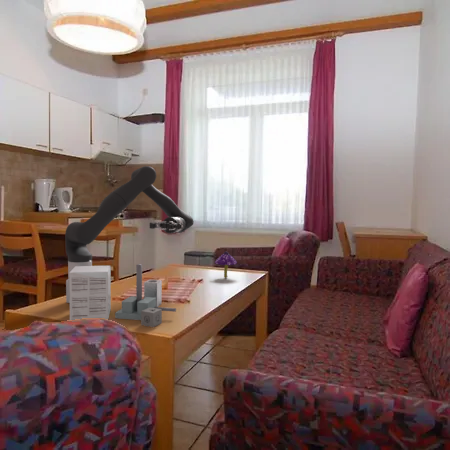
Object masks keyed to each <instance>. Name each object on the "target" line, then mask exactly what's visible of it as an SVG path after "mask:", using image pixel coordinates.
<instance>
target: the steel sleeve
mask: <svg viewBox="0 0 450 450" xmlns="http://www.w3.org/2000/svg"><path fill="white" fill-rule="evenodd" d="M162 284H163V282H162V280H161V279H148V280H146V281H144V282H143V286H144V287H143V296H144V297H143V299H144V298H145V297H153V298H156V307H160V306H161V305H162V302H163V301H162V295H163V294H162V293H163V290H162V287H163V286H162Z"/></svg>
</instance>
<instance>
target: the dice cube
mask: <svg viewBox="0 0 450 450" xmlns="http://www.w3.org/2000/svg"><path fill="white" fill-rule="evenodd" d="M162 313H163V311H162V309H157V308H147V309H145V310H142V311H141V320H140V326H143V325H144V327H149V326H150V327H149V328H155V327H157V326H159V325H161V324H162V323H163V322H162V321H163V320H162V319H163V316H162V315H163V314H162Z"/></svg>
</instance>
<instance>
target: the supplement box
mask: <svg viewBox="0 0 450 450" xmlns="http://www.w3.org/2000/svg"><path fill="white" fill-rule="evenodd" d="M111 276H112V275H111V265H92V266H75V267H74V268H73V269H72V270H71V271H70V272H69V287H70V303H69V321H70V320H75V319H82V318H105V319H108V320H109V317H110V313H111V307H112V305H111V303H112V302H111V299H112V298H111V297H112V296H111V294H112V293H111V284H112V283H111V279H112V278H111Z"/></svg>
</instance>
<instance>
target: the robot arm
mask: <svg viewBox="0 0 450 450" xmlns="http://www.w3.org/2000/svg"><path fill="white" fill-rule="evenodd" d="M156 171H157V170H155V168H153V167H152V166H149V165H148V166H147V165H144V166H142V167H139V168H137V169H135V170H133V171H132V173H131V174H130V175H131V176H130V177H131V179H130V180H129V181H127V182H126V183H124V184H121V185H120V186H119V187H117V188H116V189H114V190H113V191H112V192H110V193H109V194H108V195H107V196H106V197H104V199H103V200H102V201H101V202H100V204H99V207H98V209H97V211H96V212H95V214H94V215H92V216H90V218H88V219H87V220H86V221H84V222H83V221H74V222H71V223H70V224H68V226H67V227H66V229H65V232H64V234H65V235H64V236H65V237H64V239H65V254H66V256H67V263H68V264H67V265H68V266H67V267H68V269H67V271H68V272H67V273H68V275H67V276H68V279H67V278H66V281H65V285H66V287H65V290H66V291H65V292H66V293H65V298H66V301H65V303H66V304H67V303H68V304H70V287H69V272H70V271H71V270H72V269H73V268H74V267H75V266H93V254H92V253H91V252H90V250H89V249H88V248H87V246H88V245H90V244H91V243H93V242H94V241H95V240H96V239H97V238H98V236H99V235H101V233H102V231H103V230H105V228H106V227H107V226H108V225H109V224H110V223H111V222H112V221H113V220H114V219H116V217H118V216H119V215H120V214H121V213H122V212H124V210H125V209H126V208H127V207H128V206H129V205H131V203H132V202H133V201H134V200H135V199H136V198H137V197H138V196H139V195H140V194H141V193H142V192H143V193H144V194H145V195H146V196H147V197H148V198H149V199H151V200H152V201H153V202H154V203H155V204H156V205H157V206H158V207H159V208H160V210H162V211H163V213H164V214H165V215H166V216H167V217H165V219H164V220H163V221H155V222H154V221H153V222H149V229H151V230H153V229H154V230H155V229H156V230H161V231H164V232H165V233H166V234H175V233H178V234H181V233H184V232H186V230H189V228H190V227H193V225H194V218H193V217H192V216H191V215H190V214H188V212H185V211H184V210H183V209H181V208H180V207H179V206H178V205H177V204H176V203H175V201H174V200H172V198H171V197H170V196H168V195H167V194H166V193H163V192H162V191H160V190H159V189H157V188H156V187H155V186H154V185H153V184H154V183H155V182H156V179H157V172H156Z"/></svg>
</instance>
